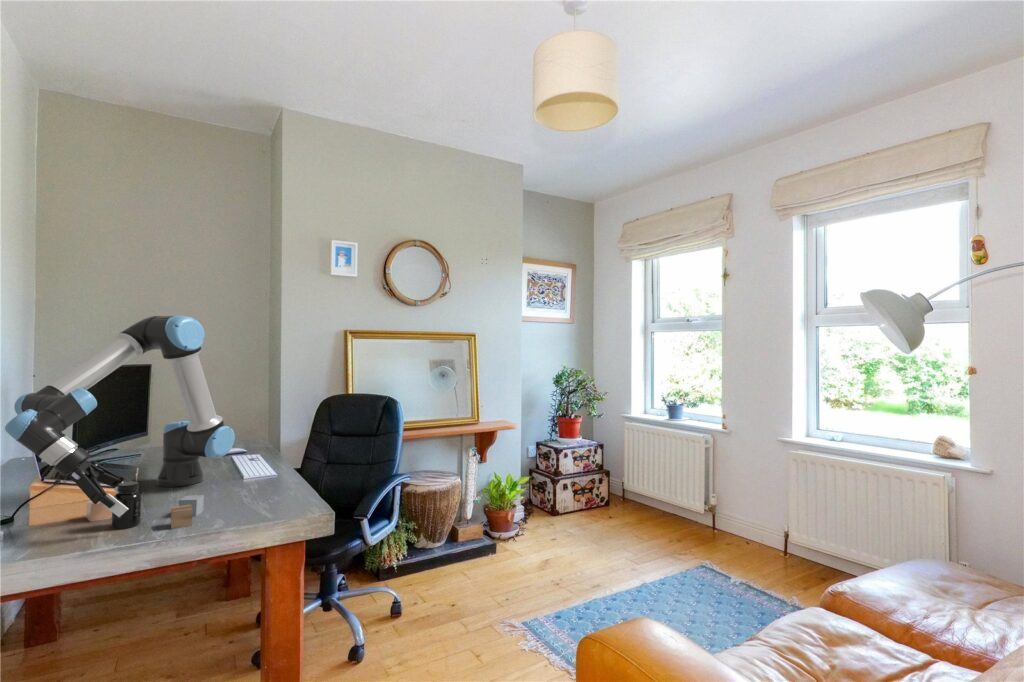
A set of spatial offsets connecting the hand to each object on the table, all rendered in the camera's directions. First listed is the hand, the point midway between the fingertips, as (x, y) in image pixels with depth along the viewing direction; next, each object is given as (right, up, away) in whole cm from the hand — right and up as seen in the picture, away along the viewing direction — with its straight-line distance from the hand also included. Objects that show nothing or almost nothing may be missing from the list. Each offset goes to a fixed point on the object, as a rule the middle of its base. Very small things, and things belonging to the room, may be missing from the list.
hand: (130, 506), depth 147 cm
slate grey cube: (+10, -6, +11) cm, 16 cm away
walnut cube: (+14, -6, +1) cm, 15 cm away
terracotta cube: (-14, -5, +6) cm, 16 cm away
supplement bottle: (-1, -6, 0) cm, 6 cm away
